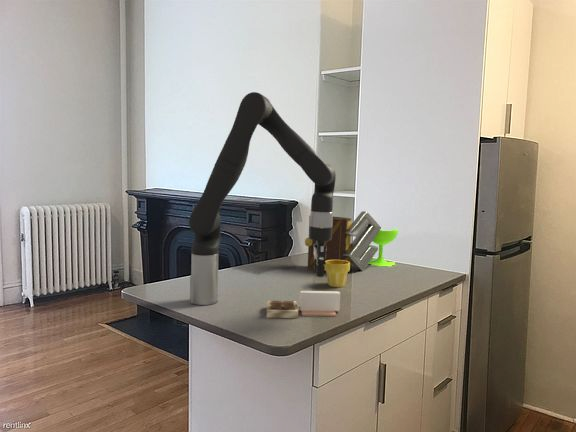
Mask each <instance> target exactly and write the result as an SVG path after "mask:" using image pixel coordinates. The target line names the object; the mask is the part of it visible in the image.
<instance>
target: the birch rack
mask: <svg viewBox="0 0 576 432" xmlns="http://www.w3.org/2000/svg"><path fill="white" fill-rule="evenodd" d="M271 301H272V300H267V301H266V318H272V319H274V318H275V319H276V318H277V319H284V318H285V319H298V318H299V308H298V303H297V301H294V300H293V301H294V310H283V302H284V301H285V300H280V301H281V302H282V304H281V310H271Z"/></svg>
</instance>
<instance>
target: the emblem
mask: <svg viewBox="0 0 576 432" xmlns="http://www.w3.org/2000/svg"><path fill="white" fill-rule="evenodd" d="M381 227H382V226H381V225H380V224H379V223H378V222H377V221H376V220H375V219H374V218H373V217H372V216H371V215H370V213H369V212H368V211H365V210H363V211H361V212H360V213H359V214H358V215H357V217H356V218H355V219H354V220H353V222H351V225H350V226H349V227H348V229H347V230H346V231H345V233H346V234H347V235H349V236H350V237H355V238H354V239H353V240H352V241H351V242H350V246H349V247H348V249H347V250H346V251H345V252H344V253H343V256H344V257H345V258H346V259H347V260H348V261H349V262H350V265H352V266H353V267H354V268H355V269H356V270H357V271H359V270H360V272H364V271H365V269H366V268H367V267H368V266H369V265H368V264H369V262H370V261H371V259H374V258H373V257H374V256H375V255H376V253H377V252H379V246H376V245H371V244H372V243H373V242H372V241H373V239H374V238H375V237H376V235H377V234H378V232H379V231H380V229H381ZM363 270H364V271H363Z"/></svg>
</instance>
